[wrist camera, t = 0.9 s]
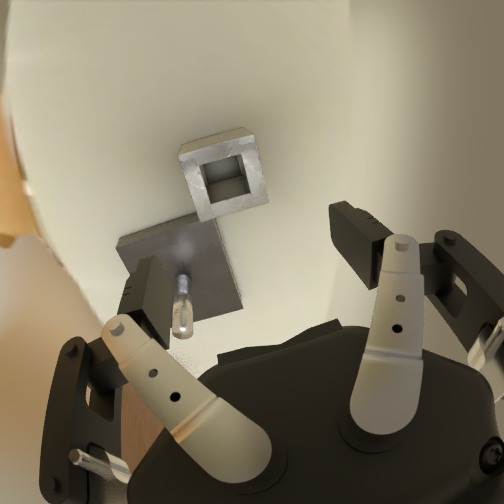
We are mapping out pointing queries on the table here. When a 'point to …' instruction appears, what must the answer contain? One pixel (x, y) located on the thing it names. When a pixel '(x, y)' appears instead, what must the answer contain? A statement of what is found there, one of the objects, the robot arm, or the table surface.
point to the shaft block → (187, 269)
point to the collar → (230, 190)
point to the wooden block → (136, 427)
